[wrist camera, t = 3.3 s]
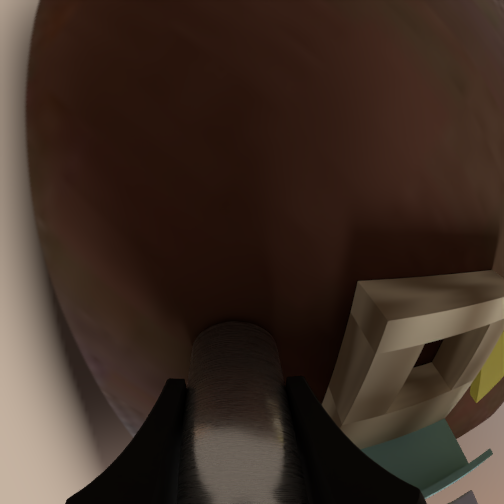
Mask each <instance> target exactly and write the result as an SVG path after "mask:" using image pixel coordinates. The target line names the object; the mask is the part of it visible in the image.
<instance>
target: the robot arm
mask: <svg viewBox="0 0 504 504" xmlns="http://www.w3.org/2000/svg"><path fill="white" fill-rule="evenodd" d="M285 388H286V393H287V397H288V402H289V407H290V412H291V417H292V422H293V426H294V431H295V436H296V441H297V446H298V451H299V456H300V461H301V466H302V471H303V476H304V481H305V486H306V490H307V495H308V500H309V504H426V501H425V498H424V496H423V494H422V492H421V491H420V489H419V488H417V487H415V486H413V485H411V484H409V483H407V482H405V481H403V480H402V479H400V478H398V477H396V476H395V475H393V474H392V473H390V472H388V471H387V470H386V469H384V468H383V467H381V466H380V465H379V464H377V463H376V462H375V461H373V460H372V459H371V458H369V457H368V456H367V455H366V454H365V453H364V452H362V451H361V450H360V449H359V448H358V447H357V446H356V445H355V444H354V443H353V442H352V441H351V440H350V439H349V438H348V437H347V436H346V435H345V434H344V433H343V431H342V430H341V429H340V428H339V427H338V426H337V425H336V423H335V422H334V421H333V420H332V418H331V417H330V416H329V414H328V413H327V412H326V410H325V409H324V408H323V406H322V405H321V404H320V402H319V401H318V399H317V398H316V396H315V395H314V393H313V392H312V390H311V388H310V387H309V385H308V383H307V382H306V380H305V378H304V377H303V376H295V377H287V381H286V387H285ZM186 392H187V388H186V384H185V380H184V379H170V378H169V379H168V380H167V382H166V384H165V386H164V388H163V390H162V392H161V394H160V396H159V398H158V400H157V402H156V404H155V405H154V407H153V409H152V410H151V412H150V414H149V415H148V417H147V419H146V420H145V422H144V423H143V425H142V426H141V428H140V429H139V431H138V432H137V434H136V435H135V436H134V438H133V439H132V441H131V442H130V443H129V444H128V446H127V447H126V448H125V449H124V451H123V452H122V453H121V454H120V455H119V456H118V457H117V459H116V460H115V461H114V462H113V463H112V464H111V465H110V466H109V467H108V468H107V469H106V470H105V471H104V472H103V473H102V474H100V475H99V476H98V477H97V478H96V479H95V480H93V481H92V482H91V483H90V484H88V485H87V486H86V487H84V488H83V489H82V490H80V491H79V492H77V493H76V494H74V495H73V496H71V497H70V498H68V499H67V500H66V503H65V504H176V502H177V486H178V472H179V459H180V448H181V437H182V427H183V418H184V409H185V400H186ZM448 504H478V503H477V501H476V498H475V496H474V494H473V492H472V490H470V491H469V492H467V493H465V494H464V495H462V496H461V497H459V498H457V499H456V500H454V501H452V502H451V503H448Z"/></svg>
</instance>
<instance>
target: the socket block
mask: <svg viewBox="0 0 504 504" xmlns="http://www.w3.org/2000/svg"><path fill="white" fill-rule="evenodd" d="M503 330H504V278H503V277H501V276H500V275H499V274H497V273H496V272H495V271H493V270H487V271H478V272H468V273H458V274H447V275H436V276H424V277H411V278H398V279H383V280H367V281H358V282H357V286H356V291H355V295H354V299H353V304H352V308H351V312H350V316H349V320H348V323H347V327H346V331H345V334H344V338H343V341H342V345H341V348H340V352H339V355H338V358H337V361H336V365H335V368H334V371H333V374H332V377H331V380H330V383H329V386H328V389H327V391H326V394H325V397H324V400H323V403H322V406H323V408H324V409H325V410H326V412H327V413H328V414H329V416H330V417H331V418H332V420H333V421H334V422H335V423H336V425H337V426H338V427H339V428H340V429H341V430H342V431H343V433H344V434H345V435H346V436H347V437H348V438H349V439H350V440H351V441H352V442H353V443H354V444H355V445H356V446H357V447H358V448H359V449H364V448H367V447H371V446H374V445H377V444H381V443H384V442H387V441H390V440H393V439H396V438H399V437H401V436H404V435H407V434H409V433H412V432H414V431H417V430H419V429H422V428H424V427H427V426H429V425H431V424H433V423H436V422H438V421H440V420H442V419H444V418H445V417H446V416H447V415H448V414H449V412H450V411H451V410H452V409H453V407H454V406H455V405H456V404H457V402H458V401H459V400H460V399H461V397H462V396H463V395H464V393H465V392H466V390H467V389H468V388H469V386H470V385H471V383H472V382H473V381H474V379H475V378H476V376H477V375H478V373H479V372H480V370H481V369H482V367H483V365H484V364H485V362H486V361H487V359H488V357H489V356H490V354H491V352H492V351H493V349H494V347H495V345H496V343H497V342H498V340H499V338H500V336H501V334H502V332H503ZM441 339H444V340H443V342H442V344H441V346H440V348H439V350H438V352H437V354H436V355H435V357H434V359H433V361H432V362H431V363H428V364H425V365H421V366H418V367H414V368H413V366H414V364H415V363H416V361H417V359H418V357H419V355H420V353H421V351H422V349H423V347H424V345H425V344H426V343H430V342H433V341H437V340H441Z"/></svg>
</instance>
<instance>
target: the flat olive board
mask: <svg viewBox="0 0 504 504" xmlns="http://www.w3.org/2000/svg"><path fill="white" fill-rule="evenodd" d="M503 376H504V330H503V332H502V334H501V336H500V338H499V340H498V342H497V343H496V345H495V347H494V349H493V351H492V352H491V354H490V356H489V357H488V359H487V361H486V362H485V364H484V365H483V367H482V369H481V370H480V372H479V373H478V375H477V376H476V378H475V379H474V381H473V382H472V383H471V389H470V395H471V396H472V398H473V399H474V401H475V402H476V403H477V402H478V401H479V400H480V399H481V398H483V397H484V396H485V395H486V394H487V393H488V392H489V391H490V390H491V389H492V388H493V387H494V386H495V385H496V384H497V383H498V382H499V380H500V379H501V378H502V377H503Z"/></svg>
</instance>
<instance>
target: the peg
mask: <svg viewBox="0 0 504 504" xmlns="http://www.w3.org/2000/svg"><path fill="white" fill-rule="evenodd" d="M176 504H309V500H308V495H307V490H306V486H305V481H304V476H303V471H302V466H301V461H300V456H299V451H298V446H297V441H296V436H295V431H294V426H293V422H292V417H291V412H290V407H289V402H288V397H287V393H286V388H285V383H284V378H283V373H282V369H281V364H280V359H279V354H278V349H277V345H276V342H275V340H274V338H273V337H272V336H271V335H270V334H269V333H268V332H267V331H266V330H264V329H263V328H261V327H259V326H257V325H254V324H251V323H247V322H237V321H232V322H223V323H219V324H216V325H213V326H211V327H209V328H207V329H205V330H204V331H202V332H201V333H200V334H199V335H198V336H197V338H196V339H195V341H194V343H193V347H192V354H191V361H190V368H189V376H188V384H187V392H186V400H185V409H184V418H183V427H182V437H181V448H180V459H179V472H178V486H177V502H176Z"/></svg>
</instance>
